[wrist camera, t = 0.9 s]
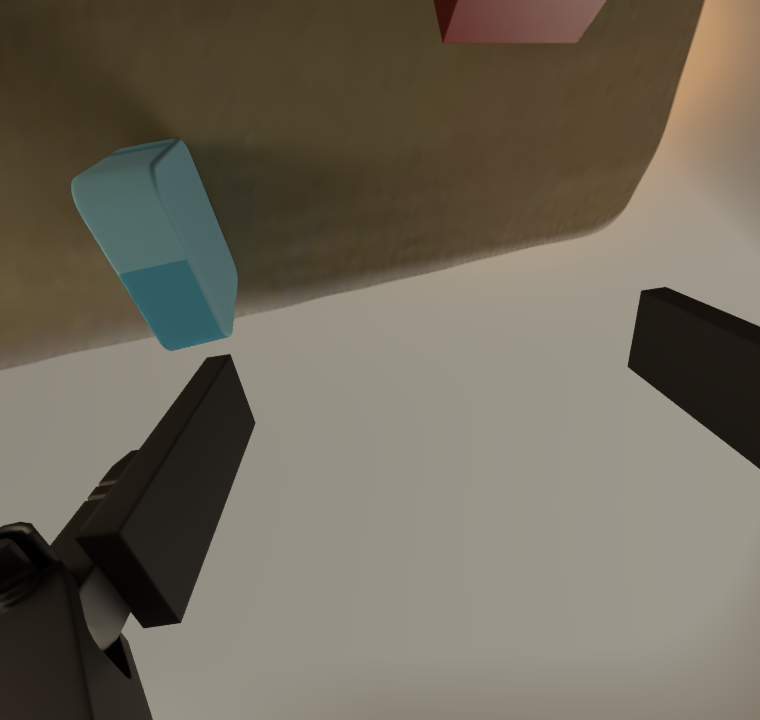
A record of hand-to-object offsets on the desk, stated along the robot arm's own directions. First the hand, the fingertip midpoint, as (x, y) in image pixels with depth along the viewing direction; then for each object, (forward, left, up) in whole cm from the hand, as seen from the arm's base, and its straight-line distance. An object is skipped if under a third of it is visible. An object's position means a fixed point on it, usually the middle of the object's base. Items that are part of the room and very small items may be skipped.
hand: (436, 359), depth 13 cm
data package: (-3, -12, -28) cm, 30 cm away
